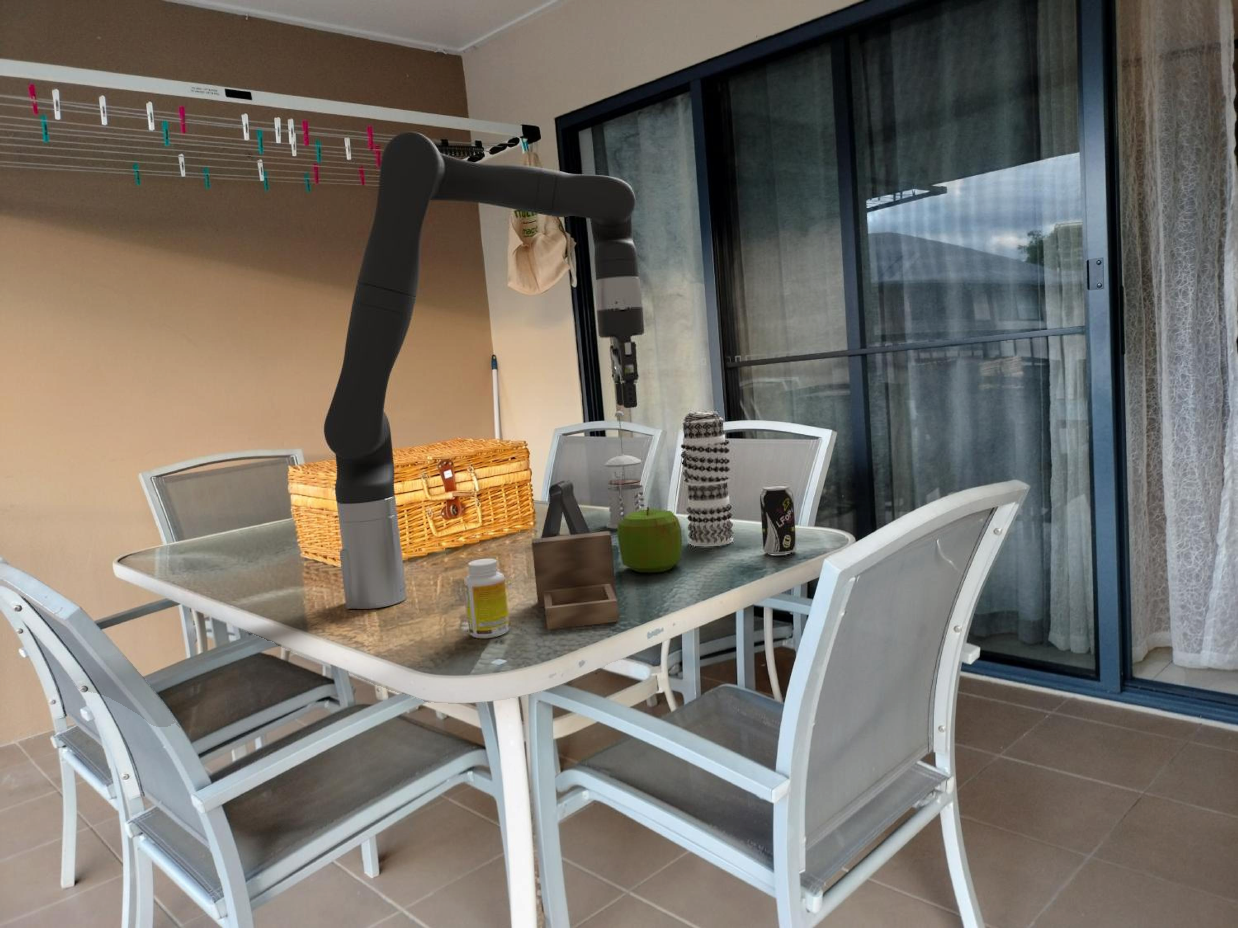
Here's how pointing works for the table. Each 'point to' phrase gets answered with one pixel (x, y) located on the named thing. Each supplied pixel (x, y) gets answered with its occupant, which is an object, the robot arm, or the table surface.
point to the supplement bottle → (486, 599)
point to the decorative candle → (706, 479)
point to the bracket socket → (576, 579)
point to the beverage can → (778, 519)
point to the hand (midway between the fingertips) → (626, 406)
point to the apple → (650, 540)
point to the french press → (623, 488)
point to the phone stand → (563, 511)
